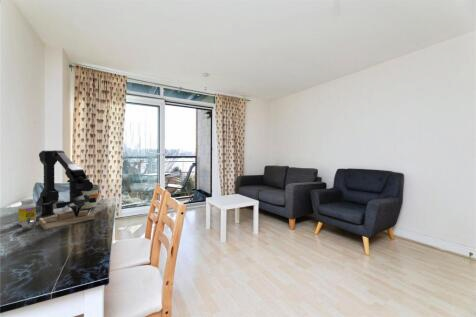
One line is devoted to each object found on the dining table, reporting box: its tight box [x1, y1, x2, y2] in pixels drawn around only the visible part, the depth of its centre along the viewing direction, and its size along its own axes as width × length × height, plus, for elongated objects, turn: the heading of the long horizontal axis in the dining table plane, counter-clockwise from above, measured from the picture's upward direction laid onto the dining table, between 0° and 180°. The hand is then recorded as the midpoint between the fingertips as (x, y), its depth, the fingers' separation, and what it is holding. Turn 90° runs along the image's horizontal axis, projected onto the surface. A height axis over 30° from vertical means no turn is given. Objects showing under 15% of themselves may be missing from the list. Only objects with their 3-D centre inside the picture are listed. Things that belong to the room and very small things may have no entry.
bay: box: [38, 210, 95, 230], centre depth 118 cm, size 13×22×3 cm, turn 141°
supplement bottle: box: [18, 198, 37, 226], centre depth 114 cm, size 7×7×13 cm
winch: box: [21, 217, 35, 232], centre depth 105 cm, size 6×4×7 cm
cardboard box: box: [56, 210, 75, 221], centre depth 117 cm, size 6×6×5 cm
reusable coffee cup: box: [81, 184, 100, 210], centre depth 147 cm, size 13×12×15 cm
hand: (76, 216), depth 121 cm, fingers closed
